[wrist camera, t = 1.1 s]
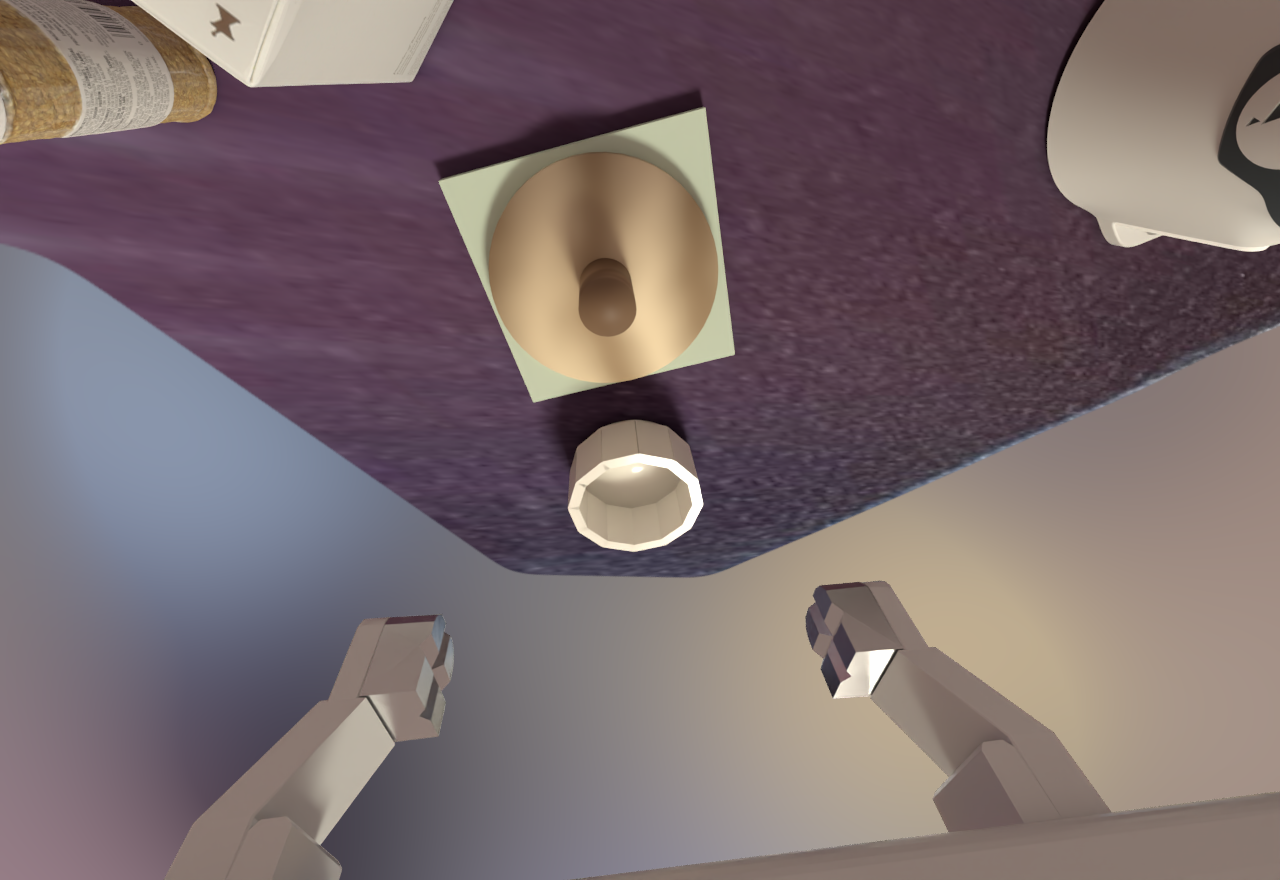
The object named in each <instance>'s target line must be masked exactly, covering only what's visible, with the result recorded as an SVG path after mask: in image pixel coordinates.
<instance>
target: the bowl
mask: <svg viewBox="0 0 1280 880" xmlns="http://www.w3.org/2000/svg"><path fill="white" fill-rule="evenodd" d="M702 506H703V501H702V497H701V492H700V487H699V482H698V478H697V474H696V470H695V466H694V462H693V458H692V455H691V451H690V447H689V445H688V444H687V443H686V442H685V441H684V440H683V439H681V438H680V437H679V436H678V435H677V434H676V433H675V432H673V431H672V430H671V429H670V428H669V427H667V426H664V425H659V424H657V423H654V422H650V421H645V420H624V421H619V422H615V423H612V424H609V425H607V426H604V427H601V428H599V429H598V430H597V431H596V432H595V433H593V434H592V435H591V436H590V437H589V438H587V439H586V440H585V441H584V442H583V443H581V444H580V445H579V446H578V447H577V449H576V453H575V456H574V459H573V463H572V466H571V470H570V479H569V497H568V510H569V512H570V514H571V517H572V519H573V521H574V523H575V526H576V528H577V530H578V531H579V533H581V534H583V535H584V536H586V537H587V538H589V539H590V540H592V541H594V542H595V543H597V544H598V545H600V546H602V547H605V548H612V549H619V550H626V551H633V552H634V551H640V550H645V549H649V548H654V547H659V546H663V545H665V544H666V545H667V544H668V543H670V542H671V541H673V540H674V539H676V538H677V537H679V536H680V535H682V534H683V533H685V532H686V531H688V530H689V529H691V527H692V525H693V523H694V522H695V520H696V518H697V516H698V514H699V512H700V510H701V508H702Z"/></svg>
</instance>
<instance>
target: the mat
mask: <svg viewBox="0 0 1280 880" xmlns="http://www.w3.org/2000/svg"><path fill="white" fill-rule="evenodd" d="M588 152H612V153H622V154H625V155H629V156H633V157H637V158H640V159H642V160H644V161H647V162H649V163H651V164H654V165H655V166H657V167H658V168H660V169H662V170H663V171H665V172H667V173H668V174H669V175H670V176H672V177H673V178H674V179H675V180H676V181H678V182H679V183H680V184H681V185H682V186H683V187H684V188H685V190H686V191H687V192H688V193H689V194H690V195H691V196H692V198H693V199H694V200H695V202H696V203H697V205H698V206H699V208H700V209H701V211H702V212H703V214H704V216H705V218H706V220H707V222H708V224H709V226H710V229H711V232H712V235H713V238H714V241H715V246H716V251H717V256H718V285H717V290H716V295H715V300H714V303H713V306H712V309H711V312H710V314H709V316H708V319H707V321H706V323H705V325H704V326H703V328H702V330H701V331H700V333H699V334H698V336H697V337H696V338H695V340H694V341H693V342H692V343H691V345H690V346H689V347H688V348H687V349H686V350H685V351H684V352H683V353H682V354H681V355H680V356H678V357H677V358H676V359H674V360H673V361H672V362H670V363H669V364H668V365H666V366H664V367H663V368H661V369H659V370H657V371H655V372H653V373H651V374H656V373H660V372H664V371H668V370H672V369H677V368H681V367H685V366H689V365H693V364H698V363H702V362H706V361H710V360H714V359H719V358H723V357H727V356H731V355H735V352H734V343H733V335H732V327H731V318H730V310H729V301H728V293H727V285H726V276H725V268H724V260H723V251H722V243H721V235H720V226H719V218H718V210H717V201H716V193H715V185H714V176H713V168H712V160H711V151H710V143H709V134H708V126H707V118H706V109H705V107H700V108H696V109H693V110H689V111H686V112H682V113H678V114H675V115H671V116H667V117H664V118H660V119H657V120H653V121H649V122H646V123H642V124H638V125H635V126H631V127H627V128H624V129H620V130H617V131H613V132H609V133H606V134H602V135H598V136H595V137H591V138H588V139H584V140H580V141H577V142H573V143H569V144H566V145H562V146H559V147H555V148H551V149H548V150H544V151H540V152H537V153H533V154H530V155H526V156H522V157H519V158H515V159H511V160H508V161H504V162H501V163H497V164H493V165H490V166H486V167H482V168H479V169H475V170H472V171H468V172H464V173H461V174H457V175H453V176H450V177H446V178H443V179H441V180H439V181H438V182H439V184H440V186H441V189H442V191H443V193H444V195H445V198H446V200H447V202H448V205H449V207H450V209H451V212H452V214H453V216H454V219H455V221H456V223H457V226H458V228H459V230H460V233H461V235H462V237H463V240H464V242H465V244H466V247H467V249H468V251H469V254H470V256H471V258H472V261H473V263H474V265H475V268H476V270H477V272H478V275H479V277H480V279H481V282H482V284H483V286H484V289H485V291H486V293H487V296H488V298H489V300H490V303H491V305H492V307H493V310H494V312H495V314H496V317H497V319H498V321H499V324H500V326H501V328H502V330H503V333H504V335H505V337H506V340H507V342H508V344H509V347H510V349H511V351H512V354H513V356H514V358H515V361H516V363H517V365H518V368H519V370H520V372H521V375H522V377H523V379H524V382H525V384H526V386H527V389H528V391H529V393H530V396H531V398H532V400H533V402H538V401H542V400H546V399H550V398H555V397H559V396H563V395H567V394H571V393H576V392H580V391H584V390H588V389H592V388H597V387H601V386H605V385H609V384H613V383H596V382H588V381H582V380H577V379H574V378H570V377H567V376H565V375H562V374H560V373H557V372H555V371H553V370H551V369H549V368H548V367H546V366H544V365H542V364H541V363H540V362H538V361H537V360H535V359H534V358H533V357H531V356H530V355H529V354H528V353H527V352H526V351H525V350H524V349H523V348H522V347H521V346H520V345H519V344H518V343H517V342H516V341H515V339H514V338H513V337H512V336H511V334H510V333H509V331H508V330H507V328H506V327H505V325H504V323H503V321H502V319H501V317H500V315H499V313H498V311H497V308H496V305H495V303H494V300H493V296H492V292H491V287H490V280H489V252H490V247H491V242H492V237H493V234H494V231H495V228H496V226H497V223H498V221H499V219H500V217H501V215H502V213H503V211H504V209H505V207H506V206H507V204H508V202H509V201H510V200H511V198H512V197H513V196H514V194H515V193H516V191H517V190H518V189H519V188H520V187H521V186H522V185H523V184H524V183H525V182H526V181H527V180H528V179H529V178H530V177H532V176H533V175H534V174H536V173H537V172H538V171H540V170H541V169H543V168H545V167H546V166H548V165H550V164H552V163H554V162H556V161H558V160H561V159H564V158H567V157H569V156H572V155H577V154H583V153H588ZM651 374H648V375H651ZM646 376H647V375H646ZM614 383H618V382H614Z"/></svg>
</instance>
